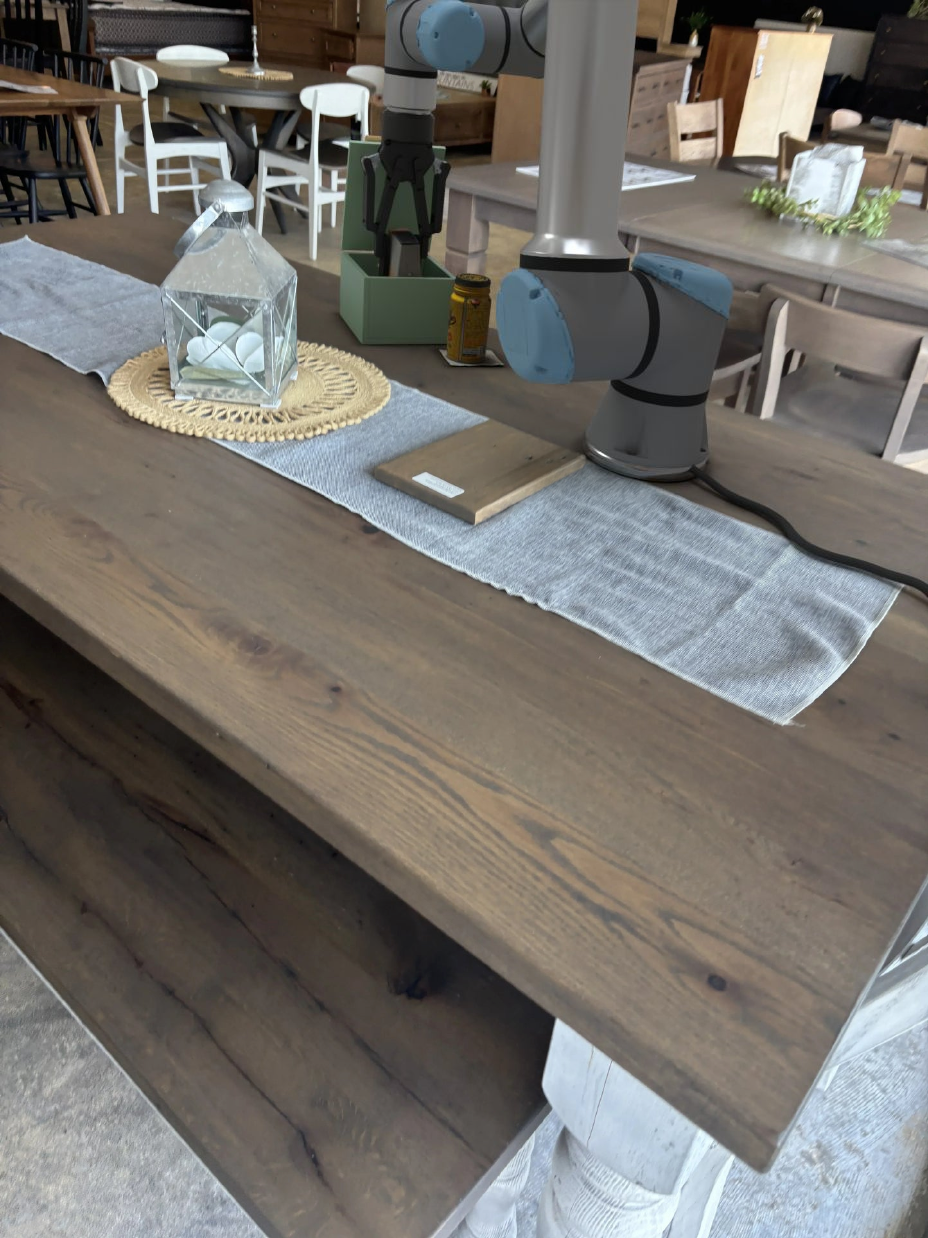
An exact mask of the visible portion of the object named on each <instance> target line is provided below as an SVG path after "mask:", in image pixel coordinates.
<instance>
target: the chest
mask: <svg viewBox="0 0 928 1238" xmlns="http://www.w3.org/2000/svg"><path fill="white" fill-rule="evenodd" d="M378 264H379V257H376V256H375V255H374V252H358V251H357V252H354V251H353V252H350V251H341V252H340V275H339V277H340V279H339V281H340V282H339V284H340V285H339V315H340V317H341V318H342V320H343V321H344V323H345V324H346V325H347V326H348V328H349V329H350V330H351V331H352V333H353V335H354V336H355V337H356V338H357V340H358V342H359V343H360V344H361V345H447V337H448V326H449V315H450V304H451V303H450V301H451V295H452V294H453V293H454V291H455V290H454V287H455V278H456V276H455V275H454V274H453V273H451V272H450V271H449V270H448V269H447V268H445V267H444V266H443V265H442V264H441V263H440V262H438V261H437V260H436V259H435V258H434V257H432V256H431V255H430V254H429V253H428V256H427V258H426V259H422V262H421V277H379V267H378Z"/></svg>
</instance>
